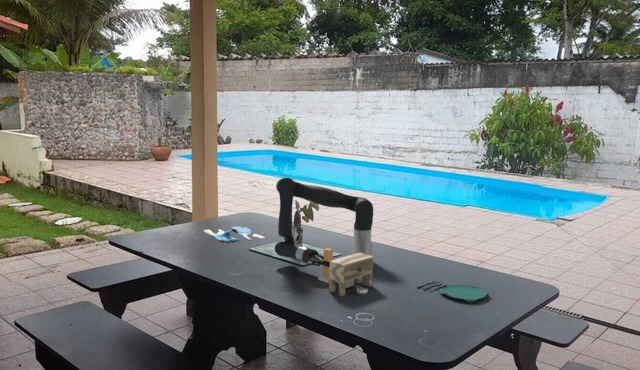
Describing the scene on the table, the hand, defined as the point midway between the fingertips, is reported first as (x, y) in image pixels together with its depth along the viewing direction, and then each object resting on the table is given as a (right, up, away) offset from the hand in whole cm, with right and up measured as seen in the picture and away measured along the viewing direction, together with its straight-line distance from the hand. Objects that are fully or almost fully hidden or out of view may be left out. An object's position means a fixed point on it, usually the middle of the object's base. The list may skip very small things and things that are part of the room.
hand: (332, 263), depth 250 cm
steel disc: (+13, -11, -12) cm, 21 cm away
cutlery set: (+54, -12, -8) cm, 56 cm away
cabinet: (+8, -10, -7) cm, 15 cm away
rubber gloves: (-59, +5, +83) cm, 102 cm away
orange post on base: (+1, -9, 0) cm, 9 cm away
